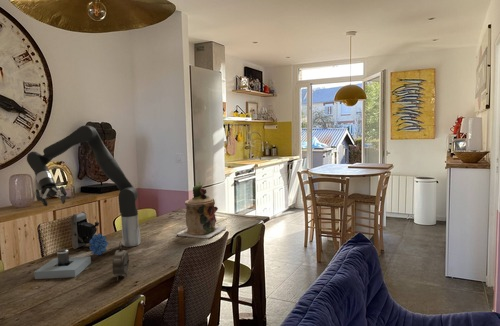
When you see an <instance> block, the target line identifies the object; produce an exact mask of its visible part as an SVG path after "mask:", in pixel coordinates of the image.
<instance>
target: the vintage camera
mask: <svg viewBox="0 0 500 326" xmlns="http://www.w3.org/2000/svg"><path fill="white" fill-rule="evenodd" d="M87 219H88V217H87V213H86V212H85V211H82V212H80V213H76V214H72V215H71V216H70V226H71V230H70V231H71V246H72V248H73V249H74V250H77V249H79V248H80V247H84V246H85V245H87V244H88V245H91V244H90V243H89V242H90V240H91V239H92V237H93V235H96V233H97V231H98V228H97V227H99V224H100V222H98V221H95V222H94V224H93V223H91V222H88V220H87Z"/></svg>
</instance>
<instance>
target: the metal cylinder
mask: <svg viewBox="0 0 500 326" xmlns="http://www.w3.org/2000/svg"><path fill="white" fill-rule="evenodd" d="M69 253H70V250H69V248H60V249H57V250H56V258H58V266H68V265H69V258H70V257H69V256H70V255H69Z"/></svg>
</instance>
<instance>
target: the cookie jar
mask: <svg viewBox="0 0 500 326" xmlns="http://www.w3.org/2000/svg"><path fill="white" fill-rule="evenodd" d="M192 194H193V197H192V198H191V199H187V200H185V202H184V205H185V206H186V207H185V210H186V211H185V212H186V213H185V224H186V225H185V226H186V228H185V229H184V230H181V231H179V232H177V233H176V236H178V237H188V238H197V239H204V240H205V239H210V238H211V237H213V236H215V235H217V234H219V233H221V232H223V231H224V230H226V228H227V225H216V223H217V219H216V212H217V211H218V209H219V208H218V207H217V206H215V205H216V202H215V199H214V198H211V197H210V196H209V195H207V189H206V188H204V187H203V183H202V182H201V181H200V182H199V183H198V184H197V185H194V186H193V187H192Z"/></svg>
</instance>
